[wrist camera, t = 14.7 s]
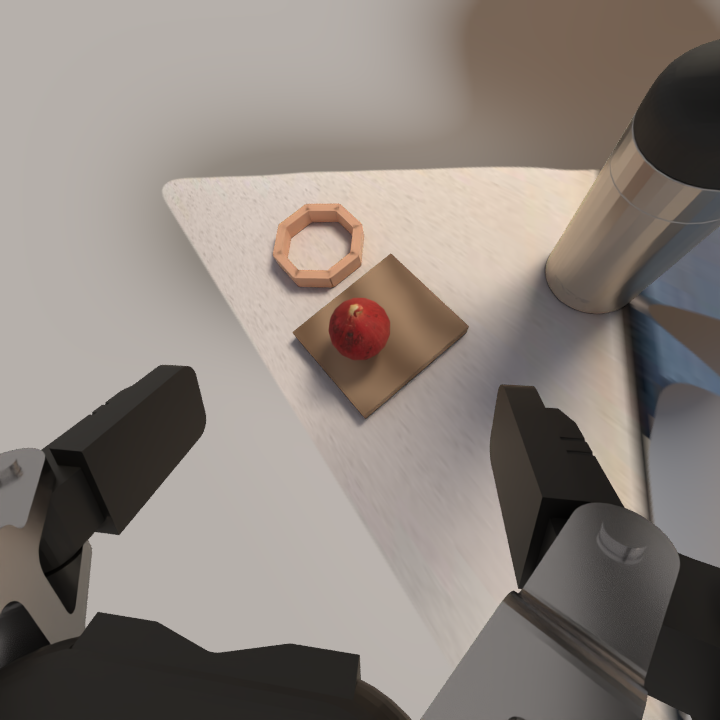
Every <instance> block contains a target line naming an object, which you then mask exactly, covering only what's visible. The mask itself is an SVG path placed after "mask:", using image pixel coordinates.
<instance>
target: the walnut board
mask: <svg viewBox="0 0 720 720" xmlns="http://www.w3.org/2000/svg"><path fill="white" fill-rule="evenodd" d="M352 298H367V299H369V300H372V301H375V302H376V303H377V304H379V305H380V306H381V307H382V308H383V309H384V310H385V312H386V314H387V316H388V318H389V320H390V336H389V338H388V341H387V343H386V345H385V347H384V348H383V349H382V350H381V351H380V352H379V353H378V354H377V355H375V356H373V357H371V358H369V359H367V360H352V359H349V358H347V357H345V356H342V355H341V354H340V353H339V351H338V350H337V349H336V348H335V347H334V346H333V344H332V342H331V338H330V335H329V331H328V329H329V322H330V318H331V316H332V314H333V312H334V310H335V309H336V308H337V307H338V306H339V305H340V304H341V303H342V302H344V301H347V300H349V299H352ZM468 327H469V326H468V325H467V324H466V323H465V322H464V321H463V320H461V319H460V318H459V317H458V316H457V315H456V314H455V313H454V312H453V311H452V310H451V309H450V308H449V307H448V306H446V305H445V304H444V303H443V302H442V301H441V300H440V299H439V298H438V297H437V296H436V295H435V294H434V293H433V292H431V291H430V290H429V289H428V288H427V287H426V286H425V285H424V284H423V283H422V282H421V281H420V280H419V279H418V278H416V277H415V276H414V275H413V274H412V273H411V272H410V271H409V270H408V269H407V268H406V267H405V266H404V265H403V264H402V263H400V262H399V261H398V260H397V259H396V258H395V257H394V256H393V255H392V254H390V255H388V256H387V257H386V258H385V259H383V260H382V261H381V262H380V263H378V264H377V265H376V266H375V267H373V268H372V269H371V270H370V271H368V272H367V273H366V274H365V275H363V276H362V277H361V278H360V279H358V280H357V281H356V282H355V283H353V284H352V285H351V286H350V287H348V288H347V289H346V290H345V291H343V292H342V293H341V294H340V295H338V296H337V297H336V298H335V299H333V300H332V301H331V302H330V303H328V304H327V305H326V306H325V307H323V308H322V309H321V310H320V311H318V312H317V313H316V314H315V315H313V316H312V317H311V318H310V319H308V320H307V321H306V322H305V323H303V324H302V325H301V326H300V327H298V328H297V329H296V330H295V331H293V334H294V335H295V336H296V338H297V339H298V340H299V341H300V342H301V344H302V345H303V346H304V347H305V348H306V349H307V351H308V352H309V353H310V354H311V355H312V357H313V358H314V359H315V360H316V361H317V362H318V364H319V365H320V366H321V367H322V368H323V370H324V371H325V372H326V373H327V374H328V375H329V377H330V378H331V379H332V380H333V381H334V383H335V384H336V385H337V386H338V387H339V388H340V390H341V391H342V392H343V393H344V394H345V396H346V397H347V398H348V399H349V400H350V401H351V403H352V404H353V405H354V406H355V407H356V409H357V410H358V411H359V412H360V413H361V414H362V416H363V417H364V418H365V419H366V418H367V417H368V416H369V415H371V414H372V413H373V412H374V411H375V410H376V409H378V408H379V407H380V406H381V405H382V404H383V403H385V402H386V401H387V400H388V399H389V398H390V397H392V396H393V395H394V394H395V393H396V392H397V391H399V390H400V389H401V388H402V387H403V386H404V385H406V384H407V383H408V382H409V381H410V380H411V379H413V378H414V377H415V376H416V375H417V374H418V373H420V372H421V371H422V370H423V369H424V368H425V367H427V366H428V365H429V364H430V363H431V362H432V361H434V360H435V359H436V358H437V357H438V356H439V355H441V354H442V353H443V352H444V351H445V350H446V349H448V348H449V347H450V346H451V345H452V344H453V343H455V342H456V341H457V340H458V339H459V338H460V337H462V336H463V335H464V334H465V333H466V332H467V330H468Z"/></svg>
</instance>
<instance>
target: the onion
mask: <svg viewBox="0 0 720 720" xmlns="http://www.w3.org/2000/svg"><path fill="white" fill-rule="evenodd" d="M328 331H329V335H330V338H331V342H332V344H333V346H334V347H335V348H336V349H337V350H338V351H339V353H340V354H341V355H342V356H345V357H347V358H349V359H352V360H367V359H369V358H371V357H373V356H375V355H377V354H378V353H379V352H380V351H381V350H382V349H383V348H384V347H385V345H386V343H387V341H388V338H389V336H390V320H389V318H388V316H387V314H386V312H385V310H384V309H383V308H382V307H381V306H380V305H379V304H377V303H376V302H375V301H372V300H369V299H367V298H352V299H349V300H347V301H344V302H342V303H341V304H340V305H339V306H338V307H337V308H336V309H335V310H334V312H333V314H332V316H331V318H330V322H329V329H328Z"/></svg>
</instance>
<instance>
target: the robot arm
mask: <svg viewBox="0 0 720 720" xmlns="http://www.w3.org/2000/svg"><path fill="white" fill-rule="evenodd" d="M719 226H720V39H719V40H716V41H712V42H709V43H706V44H703V45H700V46H698V47H696V48H694V49H692V50H689V51H688V52H686V53H684V54H683V55H681V56H680V57H678V58H677V59H675V60H674V61H673V62H672V63H671V64H669V65H668V66H667V68H666V69H665V70H664V71H663V72H662V73H661V74H660V75H659V76H658V78H657V79H656V80H655V82H654V84H653V85H652V86H651V88H650V89H649V91H648V93H647V94H646V96H645V98H644V99H643V101H642V103H641V104H640V106H639V108H638V110H637V112H636V113H635V115H634V116H633V118H632V120H631V121H630V123H629V125H628V126H627V128H626V130H625V131H624V133H623V135H622V137H621V138H620V140H619V142H618V143H617V145H616V147H615V149H614V150H613V152H612V153H611V155H610V157H609V159H608V160H607V162H606V163H605V165H604V167H603V168H602V170H601V172H600V173H599V175H598V177H597V178H596V180H595V182H594V183H593V185H592V187H591V188H590V190H589V192H588V193H587V195H586V196H585V198H584V200H583V201H582V203H581V205H580V206H579V208H578V210H577V211H576V213H575V215H574V216H573V218H572V220H571V221H570V223H569V225H568V226H567V228H566V230H565V231H564V233H563V234H562V236H561V238H560V239H559V241H558V243H557V244H556V246H555V248H554V249H553V251H552V253H551V254H550V256H549V258H548V261H547V263H546V270H545V273H546V280H547V282H548V285H549V287H550V289H551V290H552V292H553V293H554V295H555V296H556V297H557V298H558V299H559V300H560V301H562V302H563V303H565V304H566V305H568V306H569V307H572V308H574V309H576V310H578V311H582V312H586V313H596V314H600V313H609V312H612V311H615V310H618V309H620V308H622V307H623V306H625V305H626V304H628V303H629V302H630V301H631V300H632V299H634V298H635V297H636V296H637V295H638V294H640V293H641V292H642V291H643V290H644V289H645V288H647V287H648V286H649V285H650V284H652V283H653V282H654V281H655V280H656V279H658V278H659V277H660V276H661V275H662V274H664V273H665V272H666V271H667V270H668V269H669V268H671V267H672V266H673V265H674V264H675V263H676V262H678V261H679V260H680V259H681V258H682V257H684V256H685V255H686V254H687V253H688V252H689V251H691V250H692V249H693V248H694V247H695V246H697V245H698V244H699V243H700V242H701V241H702V240H704V239H705V238H706V237H707V236H708V235H710V234H711V233H712V232H713V231H714V230H715V229H717V228H718V227H719ZM92 413H93V414H92V415H88V416H87V417H85V418H84V419H83V420H81V421H80V422H78V423H77V424H76V425H75V426H73V427H72V428H70V429H69V430H68V431H67V432H65V433H64V434H62V435H61V436H60V437H58V438H57V439H56V440H54V441H53V442H52V443H50V444H49V445H47V446H46V447H45V448H43V449H42V450H39V449H35V448H22V449H16V450H12V451H8V452H4V453H1V454H0V720H411V719H410V717H409V716H408V715H407V714H406V713H405V712H404V711H403V710H402V709H401V708H400V707H399V706H398V705H397V704H396V703H395V702H393V701H392V700H391V699H390V698H388V697H387V696H386V695H384V694H383V693H382V692H380V691H379V690H378V689H376V688H375V687H373V686H371V685H370V684H368V683H366V682H364V681H362V680H361V675H360V655H357V654H351V653H344V652H339V651H333V650H327V649H320V648H314V647H308V646H302V645H296V644H283V645H276V646H268V647H260V648H252V649H244V650H237V651H230V652H222V653H214V652H209V651H207V650H205V649H203V648H202V647H200V646H198V645H196V644H195V643H193V642H191V641H189V640H188V639H186V638H184V637H183V636H181V635H179V634H177V633H176V632H174V631H172V630H170V629H169V628H167V627H165V626H163V625H162V624H160V623H158V622H156V621H150V620H144V619H137V618H131V617H125V616H119V615H113V614H107V613H100V612H97V614H96V615H95V616H94V618H93V619H92V621H91V622H90V623H89V625H88V626H87V627H86V629H85V619H86V609H87V599H88V588H89V578H90V567H91V557H92V548H91V545H90V543H89V541H88V539H89V538H90V537H91V536H92V534H93V533H94V532H100V533H108V534H115V535H120V534H121V532H122V531H123V530H124V529H125V527H126V526H127V525H128V524H129V523H130V521H131V520H132V519H133V518H134V517H135V515H136V514H137V513H138V512H139V511H140V509H141V508H142V507H143V506H144V505H145V503H146V502H147V501H148V500H149V499H150V497H151V496H152V495H153V494H154V493H155V491H156V490H157V489H158V488H159V487H160V485H161V484H162V483H163V482H164V480H165V479H166V478H167V477H168V476H169V474H170V473H171V472H172V471H173V470H174V468H175V467H176V466H177V465H178V464H179V462H180V461H181V460H182V459H183V458H184V456H185V455H186V454H187V453H188V452H189V450H190V449H191V448H192V447H193V445H194V444H195V443H196V442H197V441H198V439H199V438H200V437H201V435H202V434H203V432H204V429H205V424H206V414H205V409H204V405H203V402H202V397H201V393H200V389H199V385H198V381H197V377H196V373H195V371H194V370H193V369H192V368H191V367H189V366H176V365H160V366H158V367H157V368H155V369H154V370H153V371H151V372H150V373H149V374H147V375H146V376H145V377H144V378H142V379H141V380H139V381H138V382H137V383H135V384H134V385H133V386H130V387H128V388H126V389H124V390H122V391H120V392H119V393H118V394H116V395H115V396H114V397H112V398H111V399H109V400H108V401H107V402H106V404H105V405H101V406H100V407H99V408H97V409H96V410H95V411H93V412H92ZM592 453H593V452H592V451H591V449H590V447H589V445H588V444H587V442H585V438H584V437H583V435H582V433H581V431H580V430H579V428H578V426H577V425H576V423H575V422H574V421H573V420H572V419H570V418H569V417H568V416H567V415H565V414H564V413H563V412H562V411H560V410H559V409H557V408H545V406H544V404H543V402H542V400H541V398H540V396H539V394H538V392H537V390H536V388H535V387H534V386H520V385H503V384H502V385H500V387H499V390H498V394H497V400H496V406H495V412H494V419H493V425H492V431H491V437H490V459H491V465H492V470H493V474H494V479H495V483H496V488H497V493H498V497H499V502H500V507H501V511H502V516H503V520H504V525H505V530H506V534H507V539H508V543H509V548H510V553H511V557H512V562H513V567H514V571H515V576H516V580H517V585H518V589H522V590H521V591H520V592H519V593H517V592H515V591H511V592H510V593H509V594H508V595H507V596H506V597H505V598H504V600H503V601H502V602H501V604H500V605H499V606H498V608H497V609H496V611H495V612H494V614H493V615H492V617H491V618H490V619H489V621H488V622H487V624H486V625H485V627H484V628H483V630H482V631H481V632H480V634H479V635H478V637H477V638H476V640H475V641H474V643H473V644H472V645H471V647H470V648H469V650H468V651H467V653H466V654H465V656H464V657H463V659H462V660H461V661H460V663H459V664H458V666H457V667H456V669H455V670H454V672H453V673H452V675H451V676H450V677H449V679H448V680H447V682H446V683H445V685H444V686H443V688H442V689H441V690H440V692H439V693H438V695H437V696H436V698H435V699H434V701H433V702H432V703H431V705H430V706H429V708H428V709H427V711H426V712H425V714H424V715H423V717H422V718H421V719H420V720H642V717H643V713H644V710H645V706H646V701H647V695H649V696H651V697H653V698H655V699H657V700H659V701H661V702H664V703H666V704H668V705H670V706H672V707H674V708H676V709H678V710H680V711H682V712H684V713H686V714H688V715H690V716H691V718H692V720H720V568H718V567H715V566H712V565H710V564H706V563H704V562H701V561H698V560H695V559H692V558H689V557H687V556H684V555H682V554H679V553H678V552H677V550H676V548H675V547H674V545H673V543H672V542H671V541H670V539H669V538H668V537H667V536H666V535H665V534H664V533H663V532H662V531H661V530H660V529H659V528H658V527H657V526H655V525H654V524H653V523H652V522H650V521H649V520H647V519H646V518H644V517H642V516H641V515H639V514H637V513H635V512H633V511H631V510H628V509H626V508H624V506H623V504H622V503H621V501H620V499H619V497H618V496H617V494H616V492H615V490H614V489H613V487H612V485H611V483H610V482H609V480H608V478H607V477H606V475H605V473H604V471H603V470H602V468H601V466H600V464H599V463H598V461H597V459H596V457H595V456H593V455H592Z"/></svg>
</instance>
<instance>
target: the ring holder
mask: <svg viewBox="0 0 720 720" xmlns="http://www.w3.org/2000/svg"><path fill="white" fill-rule="evenodd" d="M311 222H339V223H340V224H341V225H342V226H343V227H344V228H345V229H346V230H347V231H349V232H350V233H351V234H352V243H351V251H350V253H349V254H348V255H347V256H345V257H344V258H343V259H341V260H340V261H339V262H338V263H336V264H335V265H334V266H333V267H331V268H330V269H329V270H328V271H325V270H298V269H297V268H296V267H295V266H294V265H293V264H292V262H291V261H290V260H289V259H288V253H289V247H290V241H291V238H292V237H293V236H294V235H296V234H297V233H298V232H300V231H301V230H302V229H304V228H305V227H306V226H308V225H309V224H310V223H311ZM363 242H364V232H363V227H362V224H361V223H360V222H359V221H358V220H357V219H356V218H355V217H354V216H353V215H352V214H350V213H349V212H348V211H347V210H346V209H345V208H344V207H343V206H342V205H341V204H340V205H339V204H305V205H304V206H303V207H301V208H300V209H299V210H297V211H296V212H295V213H293V214H292V215H291V216H289V217H288V218H287V219H285V220H284V221H283V222H281V223H280V224H279V225H278V230H277V235H276V241H275V246H274V252H273V256H274V258H275V259H276V261H277V263H278V264H279V266H280V267H281V268H282V269H283V270H284V271H285V272H286V273H287V274H288V276H289V277H290V278H291V279H292V280H293V281H294V282H295V283H296V284H297V286H299V287H331V288H333V287H335V286H336V285H337V284H339V283H340V282H341V281H342V280H344V279H345V278H346V277H347V276H349V275H350V274H351V273H352V272H354V271H355V270H356V269H357V268H359V267H360V265H361V261H362V251H363Z"/></svg>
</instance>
